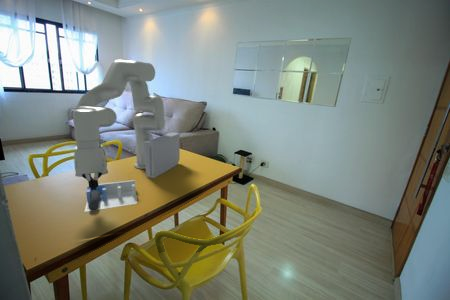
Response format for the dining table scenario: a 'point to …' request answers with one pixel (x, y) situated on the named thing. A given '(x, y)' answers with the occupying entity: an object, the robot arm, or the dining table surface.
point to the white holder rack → (114, 194)
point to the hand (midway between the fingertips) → (94, 188)
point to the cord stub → (94, 200)
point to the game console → (162, 154)
